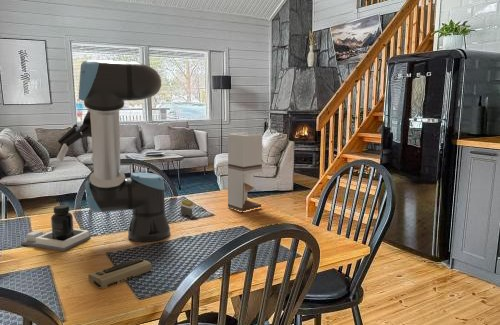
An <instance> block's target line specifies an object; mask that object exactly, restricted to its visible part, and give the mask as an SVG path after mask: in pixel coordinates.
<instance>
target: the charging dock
mask: <svg viewBox="0 0 500 325" xmlns="http://www.w3.org/2000/svg"><path fill="white" fill-rule="evenodd" d="M73 230H74V236H73V237H71V238H69V239H67V240H64V241H61V240H54V239H53V238H52V229H49V230H47V231H45V232H44V231H42V230H34V231H31V232H28V233H26V239H24V240H22V241H21V243H20V244H21V245H22V246H28V247H35V248H41V249H47V250H50V251H51V250H52V251H58V252H64V251H67V250H69V249H71V248H73V247H75V246H77V245H79V244H82V243H83V242H86V241H88V240H90V239H91V235H90V231H89V230H86V229H78V228H73Z"/></svg>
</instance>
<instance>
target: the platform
mask: <svg viewBox="0 0 500 325" xmlns="http://www.w3.org/2000/svg"><path fill="white" fill-rule="evenodd" d="M177 205H178V206H180V214H181V213H182V215H184V214H185V216H187V215H189V216H188V217H190V216H192V217H193V210H194V209H195V208H196V206H197V205H196V204H194V202H193V201H190V200H188V199H182V200H181V202H178V203H177Z"/></svg>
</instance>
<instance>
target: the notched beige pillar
mask: <svg viewBox="0 0 500 325" xmlns="http://www.w3.org/2000/svg"><path fill="white" fill-rule="evenodd" d="M227 136H228V137H227V144H228V145H227V150H228V151H227V208H228V207H229V208H233V209H236V210H239V211H242V212H243V211H246V210H250V209H254V208H258V207H261V208H262V204H261V203H257V202H255V201H252V200H248V192H250V191H252V190H254V187H255V186H254V185H255V180H254V179H255V173H260V172H262V171H263V170H262V169H263V133H261V134H259V133H258V134H249V132H237V133H235V132H234V133H228V134H227ZM229 208H228V209H229Z"/></svg>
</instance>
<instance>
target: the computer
mask: <svg viewBox="0 0 500 325" xmlns="http://www.w3.org/2000/svg"><path fill="white" fill-rule="evenodd" d="M151 270H152V271H153V265H152V263H151V262H150V261H148V260H146V259H142V258H135V259H132V260H129V261H125V262H121V263H119V264H115V265H113V266H110V267H107V268H104V269H101V270H97V271H94V272H91V273H89V274H88V280H89V281H90V282H91V283H92V284H94V285H95V286H97V288H99V287H100V288H99V289H100V290H103V288H104V289H107V288H108V287H109V286H111V285H113V283H114V284H117V283H118V284H120V283H119V282H121V283H123V282H122V281H124V282H125V280H126V281H128V280H127V279H129V280H131V279H130V278H132V277H135V276H137V277H139V276H142V275H144V274H143V273H145V274H147V273H146V272H148V273H150V272H149V271H151ZM152 271H151V272H152ZM141 274H142V275H141ZM138 275H139V276H138ZM135 278H136V277H135ZM132 279H133V278H132ZM106 287H107V288H106Z"/></svg>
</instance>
